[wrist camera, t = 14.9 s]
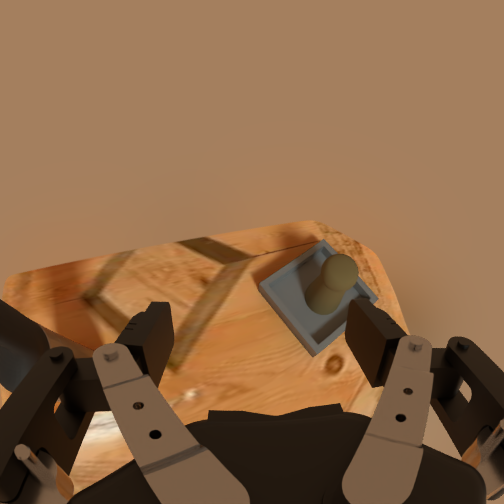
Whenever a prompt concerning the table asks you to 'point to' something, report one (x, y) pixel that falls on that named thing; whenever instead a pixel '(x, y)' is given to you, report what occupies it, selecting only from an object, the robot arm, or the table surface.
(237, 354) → the table surface
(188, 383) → the table surface
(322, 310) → the cork
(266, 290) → the tray
